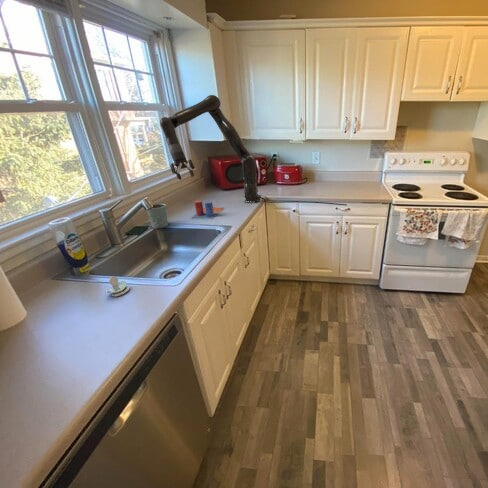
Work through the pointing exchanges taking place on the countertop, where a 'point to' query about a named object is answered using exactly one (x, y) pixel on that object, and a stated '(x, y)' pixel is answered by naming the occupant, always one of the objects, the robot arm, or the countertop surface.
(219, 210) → the terracotta mat
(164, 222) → the grey-green cylindrical pot
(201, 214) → the red upright cylinder
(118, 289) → the pacifier
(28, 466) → the countertop surface
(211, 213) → the blue upright cylinder
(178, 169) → the robot arm
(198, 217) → the blue mat
